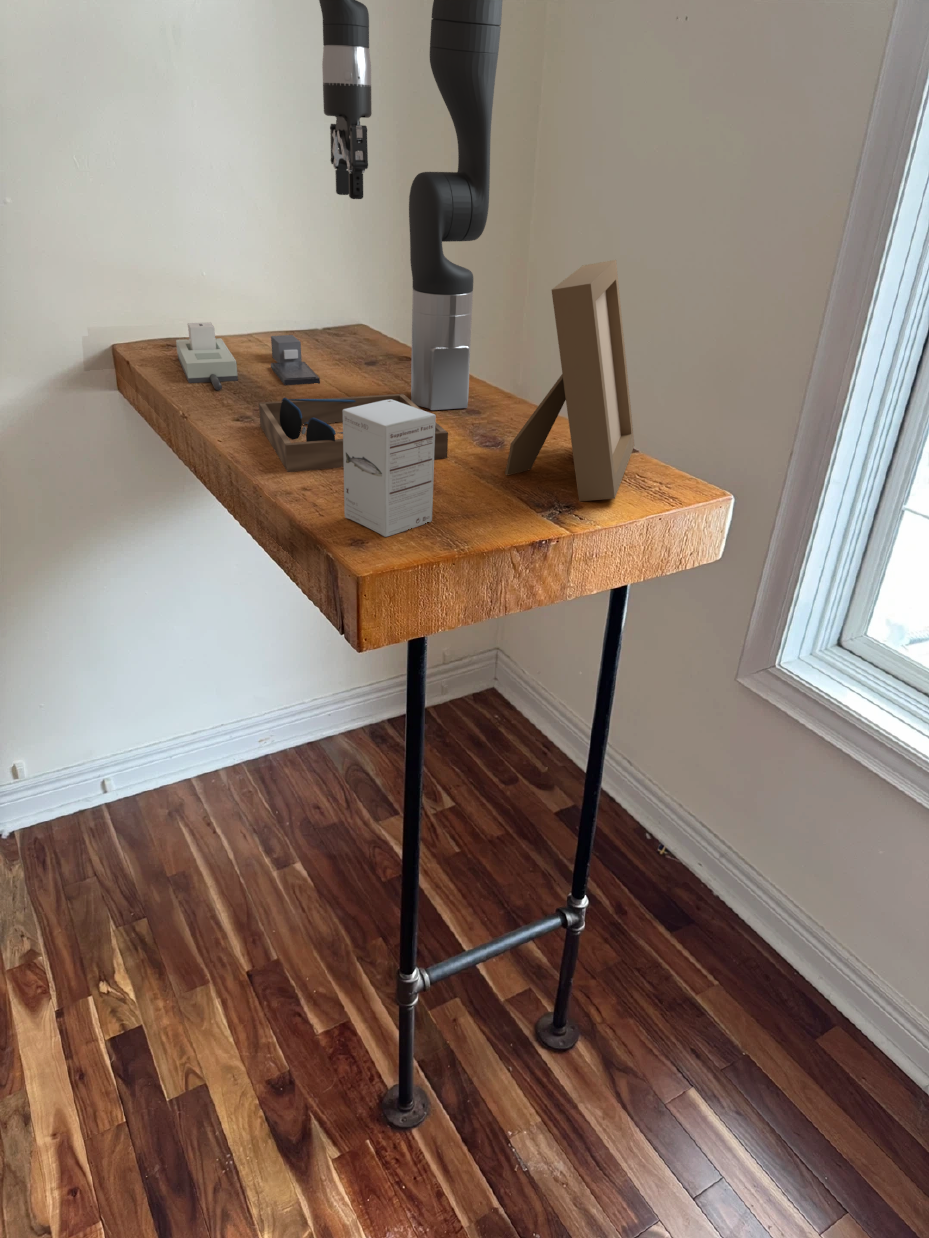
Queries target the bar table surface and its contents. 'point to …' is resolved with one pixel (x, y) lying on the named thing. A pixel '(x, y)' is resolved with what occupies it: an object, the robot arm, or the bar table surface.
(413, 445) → the supplement box
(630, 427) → the photo frame
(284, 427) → the sunglasses
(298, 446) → the valet tray
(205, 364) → the strip
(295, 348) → the plug
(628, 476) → the bar table surface
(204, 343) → the charger
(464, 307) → the robot arm
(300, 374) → the phone
